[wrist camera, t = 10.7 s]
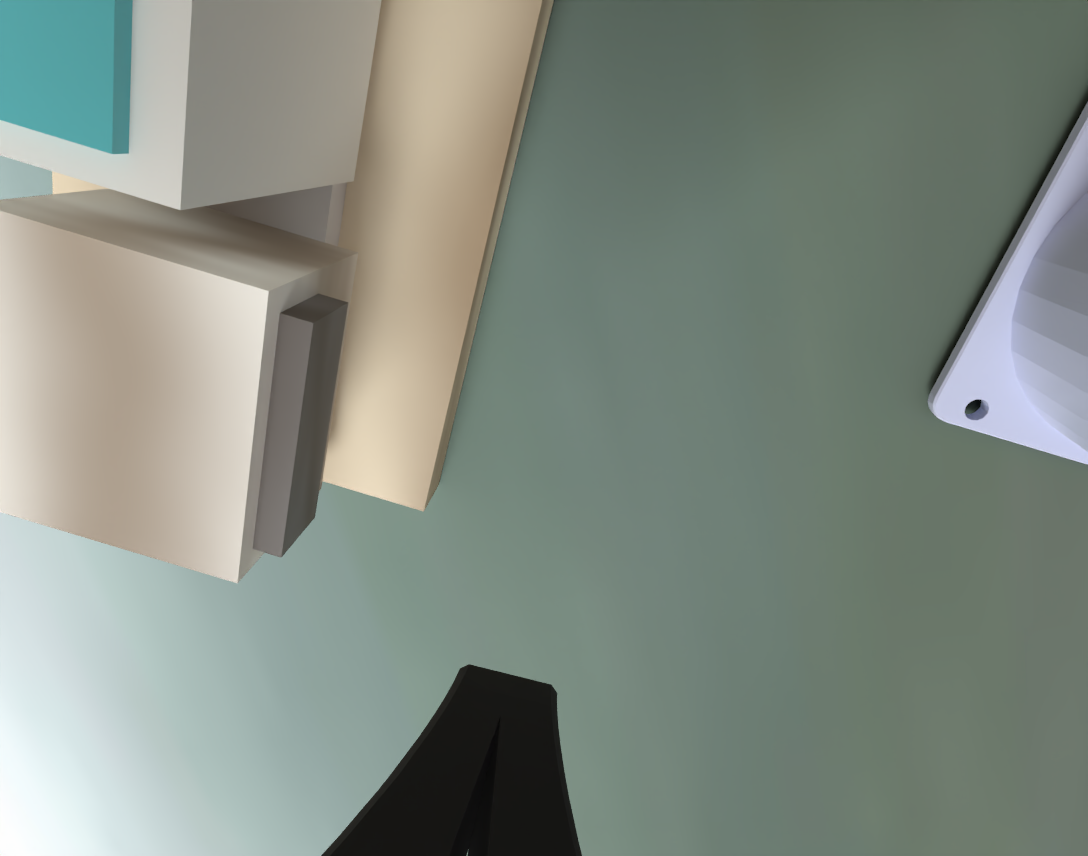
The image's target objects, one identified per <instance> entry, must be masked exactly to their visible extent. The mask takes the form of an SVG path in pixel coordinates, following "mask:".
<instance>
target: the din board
mask: <svg viewBox="0 0 1088 856" xmlns="http://www.w3.org/2000/svg"><path fill="white" fill-rule="evenodd" d="M553 2H554V0H382V1H381V8H380V14H379V21H378V27H377V34H376V40H375V47H374V53H373V60H372V66H371V73H370V79H369V86H368V92H367V99H366V105H365V112H364V118H363V124H362V131H361V137H360V144H359V150H358V157H357V163H356V170H355V176H354V181H352V182H346V183H340V184H334V185H328V186H322V187H316V188H310V189H304V190H298V191H292V192H286V193H280V194H274V195H268V196H262V197H257V198H251V199H245V200H239V201H233V202H227V203H221V204H215V205H209V206H203V207H197V208H191V209H185V210H178V209H174V208H171V207H168V206H165V205H161V204H158V203H155V202H152V201H148V200H145V199H142V198H138V197H135V196H132V195H129V194H125V193H122V192H119V191H116V190H112V189H109V188H106V187H102V186H99V185H96V184H93V183H89V182H86V181H83V180H80V179H76V178H73V177H70V176H66V175H63V174H60V173H57V172H53V171H52V179H53V194H51V195H41V196H32V197H22V198H12V199H3V200H0V512H2V513H5V514H9V515H12V516H15V517H19V518H22V519H25V520H29V521H32V522H35V523H39V524H42V525H45V526H48V527H52V528H55V529H58V530H62V531H65V532H68V533H72V534H75V535H78V536H82V537H85V538H88V539H92V540H95V541H98V542H102V543H105V544H108V545H112V546H115V547H118V548H122V549H125V550H128V551H132V552H135V553H138V554H142V555H145V556H148V557H152V558H155V559H158V560H162V561H165V562H168V563H172V564H175V565H178V566H182V567H185V568H188V569H192V570H195V571H198V572H202V573H205V574H208V575H212V576H215V577H218V578H222V579H225V580H228V581H232V582H235V583H238V582H239V581H240V580H241V579H242V578H243V576H244V575H245V574H246V573H247V572H248V571H249V570H250V569H251V567H252V566H253V565H254V564H255V563H256V562H257V561H258V559H259V558H260V557H261V556H262V555H263V554H264V553H268V554H271V555H275V556H278V557H282V556H283V555H284V554H285V552H286V551H287V550H288V549H289V548H290V546H291V545H292V544H293V543H294V542H295V540H296V539H297V538H298V537H299V536H300V534H301V533H302V532H303V531H304V530H305V528H306V527H307V526H308V525H309V524H310V522H311V521H312V520H313V519H314V518H315V513H316V506H317V500H318V494H319V490H320V489H321V486H322V481H324V482H327V483H331V484H334V485H337V486H341V487H344V488H347V489H351V490H354V491H357V492H361V493H364V494H367V495H371V496H374V497H377V498H381V499H384V500H387V501H391V502H394V503H397V504H401V505H404V506H407V507H411V508H414V509H417V510H421V511H424V510H425V508H426V507H427V505H428V503H429V501H430V499H431V498H432V496H433V494H434V492H435V490H436V489H437V487H438V485H439V481H440V477H441V472H442V468H443V464H444V460H445V456H446V451H447V447H448V443H449V439H450V435H451V430H452V426H453V422H454V418H455V414H456V409H457V405H458V401H459V397H460V393H461V388H462V384H463V380H464V376H465V372H466V367H467V363H468V359H469V355H470V351H471V346H472V342H473V338H474V334H475V330H476V325H477V321H478V317H479V313H480V309H481V304H482V300H483V296H484V292H485V288H486V283H487V279H488V275H489V271H490V266H491V262H492V258H493V254H494V250H495V245H496V241H497V237H498V233H499V229H500V224H501V220H502V216H503V212H504V208H505V203H506V199H507V195H508V191H509V187H510V182H511V178H512V174H513V170H514V166H515V161H516V157H517V153H518V149H519V145H520V140H521V136H522V132H523V128H524V124H525V119H526V115H527V111H528V107H529V103H530V98H531V94H532V90H533V86H534V82H535V77H536V73H537V69H538V65H539V60H540V56H541V52H542V48H543V44H544V39H545V35H546V31H547V27H548V23H549V18H550V14H551V10H552V6H553Z"/></svg>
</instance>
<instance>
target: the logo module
mask: <svg viewBox="0 0 1088 856" xmlns="http://www.w3.org/2000/svg"><path fill="white" fill-rule="evenodd" d="M381 1H382V0H0V155H1V156H4V157H8V158H11V159H14V160H17V161H21V162H24V163H27V164H30V165H34V166H37V167H40V168H44V169H47V170H50V171H53V172H57V173H60V174H63V175H66V176H70V177H73V178H76V179H80V180H83V181H86V182H89V183H93V184H96V185H99V186H102V187H106V188H109V189H112V190H116V191H119V192H122V193H125V194H129V195H132V196H135V197H138V198H142V199H145V200H148V201H152V202H155V203H158V204H161V205H165V206H168V207H171V208H174V209H178V210H185V209H191V208H197V207H203V206H209V205H215V204H221V203H227V202H233V201H239V200H245V199H251V198H257V197H262V196H268V195H274V194H280V193H286V192H292V191H298V190H304V189H310V188H316V187H322V186H328V185H334V184H340V183H346V182H352V181H354V176H355V170H356V163H357V157H358V150H359V144H360V137H361V131H362V124H363V118H364V112H365V105H366V99H367V92H368V86H369V79H370V73H371V66H372V60H373V53H374V47H375V40H376V34H377V27H378V21H379V14H380V8H381Z"/></svg>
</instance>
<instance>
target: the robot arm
mask: <svg viewBox="0 0 1088 856" xmlns="http://www.w3.org/2000/svg"><path fill="white" fill-rule="evenodd" d="M976 399H979V400H981V405H980V408H979V409H978V410H977V411H976V412H974V413H971V414H965V413H964V412H965V408H966V406H967V405H968V404H969V403H970V402H971V401H974V400H976ZM928 405H929V408H930V410H931V411H932V413H933V414H934V415H935V416H936V417H937V418H939V419H941V420H943V421H945V422H947V423H951V424H954V425H957V426H961V427H964V428H968V429H971V430H974V431H978V432H981V433H984V434H988V435H991V436H994V437H998V438H1001V439H1004V440H1008V441H1011V442H1014V443H1018V444H1021V445H1024V446H1028V447H1031V448H1034V449H1038V450H1041V451H1044V452H1048V453H1051V454H1054V455H1058V456H1061V457H1064V458H1068V459H1071V460H1074V461H1078V462H1081V463H1084V464H1088V102H1087V104H1086V106H1085V107H1084V109H1083V111H1082V113H1081V115H1080V117H1079V118H1078V120H1077V122H1076V124H1075V126H1074V128H1073V130H1072V131H1071V133H1070V135H1069V137H1068V139H1067V141H1066V142H1065V144H1064V146H1063V148H1062V150H1061V152H1060V154H1059V155H1058V157H1057V159H1056V161H1055V163H1054V165H1053V167H1052V168H1051V170H1050V172H1049V174H1048V176H1047V178H1046V179H1045V181H1044V183H1043V185H1042V187H1041V189H1040V191H1039V192H1038V194H1037V196H1036V198H1035V200H1034V202H1033V203H1032V205H1031V207H1030V209H1029V211H1028V213H1027V215H1026V216H1025V218H1024V220H1023V222H1022V224H1021V226H1020V228H1019V229H1018V231H1017V233H1016V235H1015V237H1014V239H1013V240H1012V242H1011V244H1010V246H1009V248H1008V250H1007V252H1006V253H1005V255H1004V257H1003V259H1002V261H1001V263H1000V264H999V266H998V268H997V270H996V272H995V274H994V276H993V277H992V279H991V281H990V283H989V285H988V287H987V288H986V290H985V292H984V294H983V296H982V298H981V300H980V301H979V303H978V305H977V307H976V309H975V311H974V313H973V314H972V316H971V318H970V320H969V322H968V324H967V325H966V327H965V329H964V331H963V333H962V335H961V337H960V338H959V340H958V342H957V344H956V346H955V348H954V349H953V351H952V353H951V355H950V357H949V359H948V361H947V362H946V364H945V366H944V368H943V370H942V372H941V374H940V375H939V377H938V379H937V381H936V383H935V385H934V386H933V388H932V390H931V392H930V395H929V398H928ZM468 849H469V850H468ZM467 852H468V856H582V854H581V850H580V846H579V842H578V837H577V833H576V828H575V823H574V819H573V814H572V809H571V805H570V800H569V795H568V790H567V784H566V779H565V773H564V767H563V760H562V753H561V747H560V738H559V729H558V717H557V692H556V691H555V689H554V688H553V686H552V685H550V684H546V683H542V682H538V681H534V680H530V679H526V678H522V677H518V676H514V675H510V674H506V673H502V672H498V671H494V670H490V669H486V668H481V667H477V666H473V665H467V666H465V667H462V668H460V670H459V672H458V674H457V676H456V678H455V681H454V682H453V684H452V686H451V688H450V690H449V691H448V693H447V695H446V697H445V698H444V700H443V702H442V703H441V705H440V706H439V708H438V710H437V711H436V713H435V714H434V716H433V717H432V719H431V720H430V722H429V723H428V725H427V726H426V727H425V729H424V730H423V732H422V733H421V735H420V736H419V738H418V739H417V740H416V742H415V743H414V744H413V746H412V747H411V748H410V750H409V751H408V752H407V754H406V755H405V756H404V758H403V759H402V760H401V762H400V763H399V764H398V766H397V767H396V768H395V770H394V771H393V772H392V774H391V775H390V776H389V777H388V779H387V780H386V781H385V782H384V784H383V785H382V786H381V787H380V789H379V790H378V791H377V792H376V793H375V795H374V796H373V797H372V798H371V799H370V800H369V802H368V803H367V804H366V805H365V806H364V808H363V809H362V810H361V811H360V812H359V813H358V815H357V816H356V817H355V818H354V819H353V820H352V822H351V823H350V824H349V825H348V826H347V827H346V829H345V830H344V831H343V832H342V833H341V835H340V836H339V837H338V838H337V839H336V840H335V841H334V842H333V843H332V845H331V846H330V847H329V848H328V849H327V850H326V851H325V852H324V853H323V854H322V855H321V856H466V855H467Z"/></svg>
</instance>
